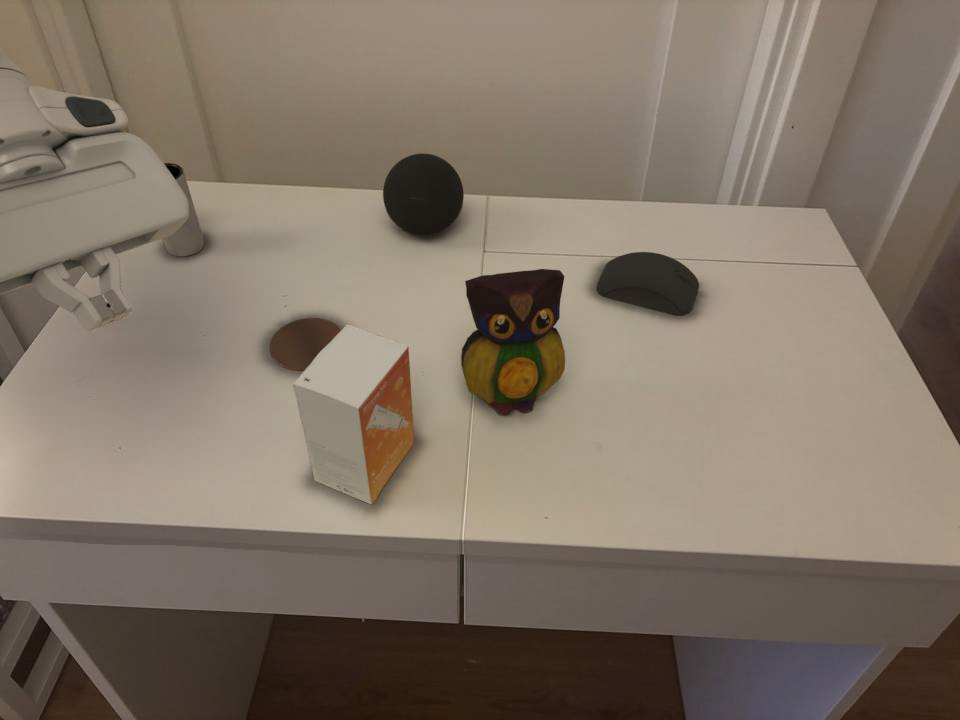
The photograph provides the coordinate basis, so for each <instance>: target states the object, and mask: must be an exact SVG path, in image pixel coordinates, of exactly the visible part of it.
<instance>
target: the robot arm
mask: <svg viewBox="0 0 960 720" xmlns="http://www.w3.org/2000/svg"><path fill="white" fill-rule="evenodd" d="M128 124H129V117H128V116H127V113H126V111H125V110H124V109H123V107H122V106H121V105H120V104H119V103H118V102H117V101H114V100H112V99H109V98H102V97H95V96H87V95H81V94H74V93H69V92H65V91H59V90H55V89H50V88H48V87H45V86H44V87H43V86H39V85H34V84H33V83H32V81H31V80H30V78H29V77H28V76H27V74H25V72H24V71H23V70H22V69H21V68H20V67H19V66H18V65H17V64H16V63H14V62H13V61H12V60H11V59H10V58H9V57H8V56H7V55H6V54H5V52H4V51H3V49H2V47H1V46H0V296H1V295H3V294H6V293H10V292H12V291H15V290H18V289H21V288H24V287H27V286H30V285H32V284H33V286H34V288H35V289H36V290H37V292H38V294H40V296H41V297H42V298H43V299H45V300H47V301H49V302H51V303H53V305H56V306H58V307H60V308H61V309H64V310H65V311H67V312H69V313H73V314H74V316H75V318H76V320H78V322H79V324H81V326H82V327H83V329H84V330H85V331H86V332H88V333H92V332H94V331H96V330H98V329H101V328H103V327H105V326H107V325H110V324H112V323H114V322H117V321H119V320H122V319H124V318H126V317H128V316H129V315H130V314H131V313H132V312H133V306H132V304H131V302H130V301H129V299H128V298H127V296H126V294H125V293H124V292H123V290H122V289H121V287H122V281H121V260H120V259H119V257H118V255H119V254H122V253H125V252H128V251H130V250H131V251H132V250H134V249H137V248H140V247H142V246H145V245H149V244H151V243H155V242H157V241H160V240H163V238H166V237H169V236H171V235H173V234H174V233H175V232H176V231H177V230H178V229H179V228H180V227H181V226H182V225H183V224H184V223H185V222H186V221H187V219H188V217H189V202H188V199H187V197H186V196H185V194H184V192H183V190H182V189H181V187H180V186H179V184H178V183H177V181H176V180H175V178H174V177H173V176H172V174H171V173H170V171H169V170H168V169H167V167H166V166H165V164H164V163H165V162H164V161H163V160H162V159H161V158H160V157H159V155H158V154H157V152H156V151H155V150H154V149H153V148H152V147H151V145H149V143H147V142H146V141H145V140H143V139H142V138H141V137H139V136H137V135H135V134H133V133H130V132H126V131H125V130H126V128H127V127H128ZM79 268H83V269H84V271H85V272H86V274H87V275H88V277H89V278H90V279H96V278H98V280H99V289H100V294H98V295H95V296H93V297H90V296H89V295H87V294H85V293H84V292H82V291H80V290H79V289H78V288H76V287H74V286H73V285H71V284H69V282H68V281H69V280H70V278H71V274H70V271H73V270H75V269H79Z"/></svg>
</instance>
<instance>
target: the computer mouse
mask: <svg viewBox="0 0 960 720" xmlns="http://www.w3.org/2000/svg"><path fill="white" fill-rule="evenodd" d="M699 289H700V281H699V279H698V278H697V277H696V275H695V274H694V273H693V271H692V270H690V269H689V267H687V265H685V264H683V263H682V262H680V261H679V260H677V259H675V258H673V257H671V256H668V255H665V254H662V253H657V252H650V251H634V252H629V253H624V254H621V255H619V256H617V257H615V258H612V259H610V260H609V261H608V262H607V263H605V266H604V268H603V270H602V272H601V275H600V277H599V279H598V281H597V283H596V289H595V290H596V292H597V293H598V295H600V296H601V297H604V298H606V299H610V300H613V301H617V302H621V303H625V304H630V305H632V306H633V305H634V306H636V307H637V306H638V307H640V308H641V307H642V308H646V309H649V310H652V311H657V312H659V313H665V314H668V315H672V316H677V317H678V316H679V317H681V316H685V315H688V314H689V313H690V312H691V311H692V310H693V307H694V305H695V301H696V298H697V296H698V291H699Z"/></svg>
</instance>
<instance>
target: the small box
mask: <svg viewBox="0 0 960 720" xmlns="http://www.w3.org/2000/svg"><path fill="white" fill-rule="evenodd" d="M409 348H410V347H409V345H407V344H404V343H401V342H398V341H396V340H393V339H390V338H387V337H384V336H381V335H379V334H377V333H373V332H370V331H368V330H364V329H363V328H360V327H357V326H354V325H352V324H348V323H347V324H346V325H345V326H343V328H341V331H340V332H339V333H338V334H337V335H336V336H335V337H334V338H333V340H332V341H331V342H330V343H329V344H328V345H327V346H326V347H325V348H324V349H323V350H321V351H320V353H319V354H318V355H317V356H316V357H315V359H314V360H313V361H312V362H311V364H310V365H309V366H308V367H307V368H306V369H305V370H304V371H302V372H301V374H300V375H299V376H298V377H297V378H296V379H295V380H294V381H293V382H292V387H293V391H294V395H295V399H296V404H297V409H298V413H299V418H300V421H301V422H300V423H301V426H302V431H303V435H304V439H305V445H306V448H307V449H306V450H307V453H308V457H309V461H310V466H311V471H312V475H313V479H314V481H315V482H317V483H320V484H322V485H324V486H327V487H328V488H331V489H333V490H335V491H338V492H340V493H342V494H345V495H348V496H350V497H352V498H354V499H357V500H360V501H362V502H364V503H367V504H369V505H374V503H375V501H376V499H377V498H378V497H379V495H380V493H381V492H382V490H383V488H384V487H385V485H386V484H387V482H388V481H389V480H390V478H391V477H392V476H393V474H394V472H395V471H396V470H397V468H398V467H399V465H400V464H401V463H402V461H403V460H404V458H405V457H406V456H407V454H408V453H409V451H410V450H411V449H412V448H413V446H414V445H415V433H414V416H413V414H414V413H413V402H412V399H413V398H412V384H411V383H412V381H411V366H410V351H409Z"/></svg>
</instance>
